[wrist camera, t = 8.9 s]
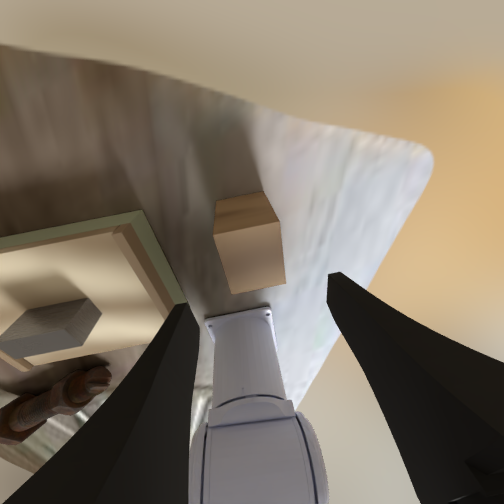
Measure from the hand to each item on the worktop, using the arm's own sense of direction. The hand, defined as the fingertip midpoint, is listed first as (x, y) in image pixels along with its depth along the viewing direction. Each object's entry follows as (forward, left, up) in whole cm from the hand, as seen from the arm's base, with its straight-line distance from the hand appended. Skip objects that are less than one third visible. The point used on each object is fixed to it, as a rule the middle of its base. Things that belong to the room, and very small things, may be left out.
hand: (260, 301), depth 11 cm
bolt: (-19, +28, -10) cm, 36 cm away
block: (0, 0, -10) cm, 10 cm away
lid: (-3, +16, -7) cm, 18 cm away
